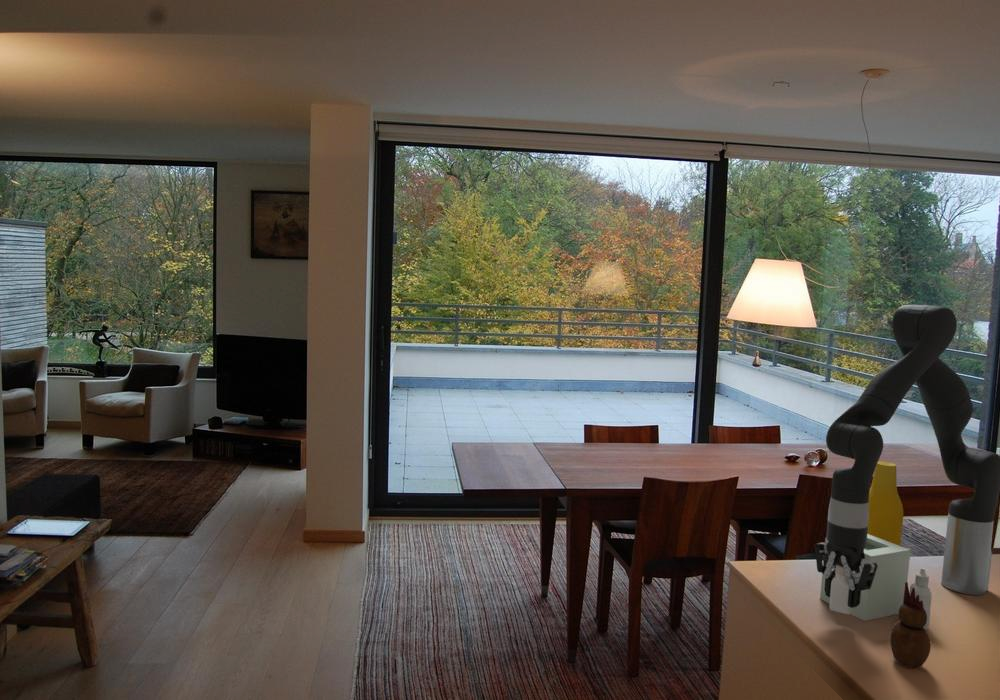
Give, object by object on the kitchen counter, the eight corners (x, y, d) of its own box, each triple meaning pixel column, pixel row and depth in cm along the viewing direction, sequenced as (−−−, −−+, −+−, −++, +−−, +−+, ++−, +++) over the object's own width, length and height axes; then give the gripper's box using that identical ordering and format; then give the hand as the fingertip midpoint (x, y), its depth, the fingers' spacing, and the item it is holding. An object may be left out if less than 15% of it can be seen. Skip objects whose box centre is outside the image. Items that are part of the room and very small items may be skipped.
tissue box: (858, 591, 183) (863, 532, 181) (904, 612, 172) (910, 549, 171) (820, 598, 178) (825, 537, 176) (865, 620, 167) (871, 556, 165)
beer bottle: (846, 582, 188) (857, 462, 185) (863, 573, 195) (874, 457, 192) (886, 595, 182) (898, 470, 179) (903, 585, 188) (914, 465, 185)
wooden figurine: (882, 654, 152) (890, 578, 150) (911, 654, 152) (919, 579, 151) (903, 672, 145) (911, 593, 144) (933, 672, 146) (941, 593, 144)
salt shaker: (852, 609, 164) (856, 564, 163) (849, 616, 160) (853, 570, 159) (832, 604, 166) (835, 560, 165) (828, 611, 163) (832, 566, 162)
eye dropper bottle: (930, 622, 167) (936, 567, 166) (927, 631, 163) (933, 575, 162) (907, 616, 170) (913, 562, 169) (903, 625, 165) (909, 570, 164)
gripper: (891, 529, 156) (884, 612, 158) (832, 508, 169) (826, 585, 171) (864, 534, 153) (857, 618, 155) (806, 512, 166) (800, 590, 168)
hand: (841, 600), depth 163 cm, fingers closed on salt shaker, 5 cm apart
